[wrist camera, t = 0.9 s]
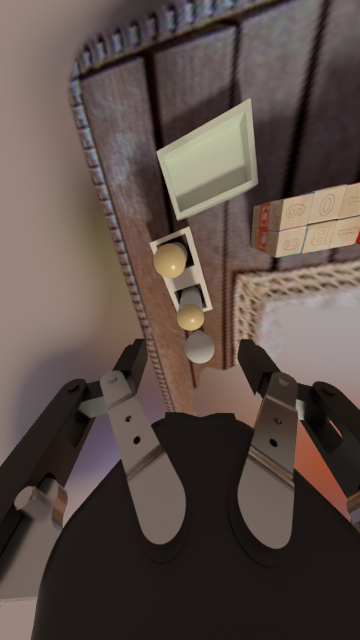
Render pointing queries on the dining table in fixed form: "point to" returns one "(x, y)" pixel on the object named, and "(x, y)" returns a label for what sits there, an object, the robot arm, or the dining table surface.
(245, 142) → the parts tray
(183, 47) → the dining table surface
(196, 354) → the light bulb
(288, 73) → the dining table surface
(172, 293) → the tray
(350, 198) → the stack of blocks
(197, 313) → the fuse
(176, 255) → the cylinder
